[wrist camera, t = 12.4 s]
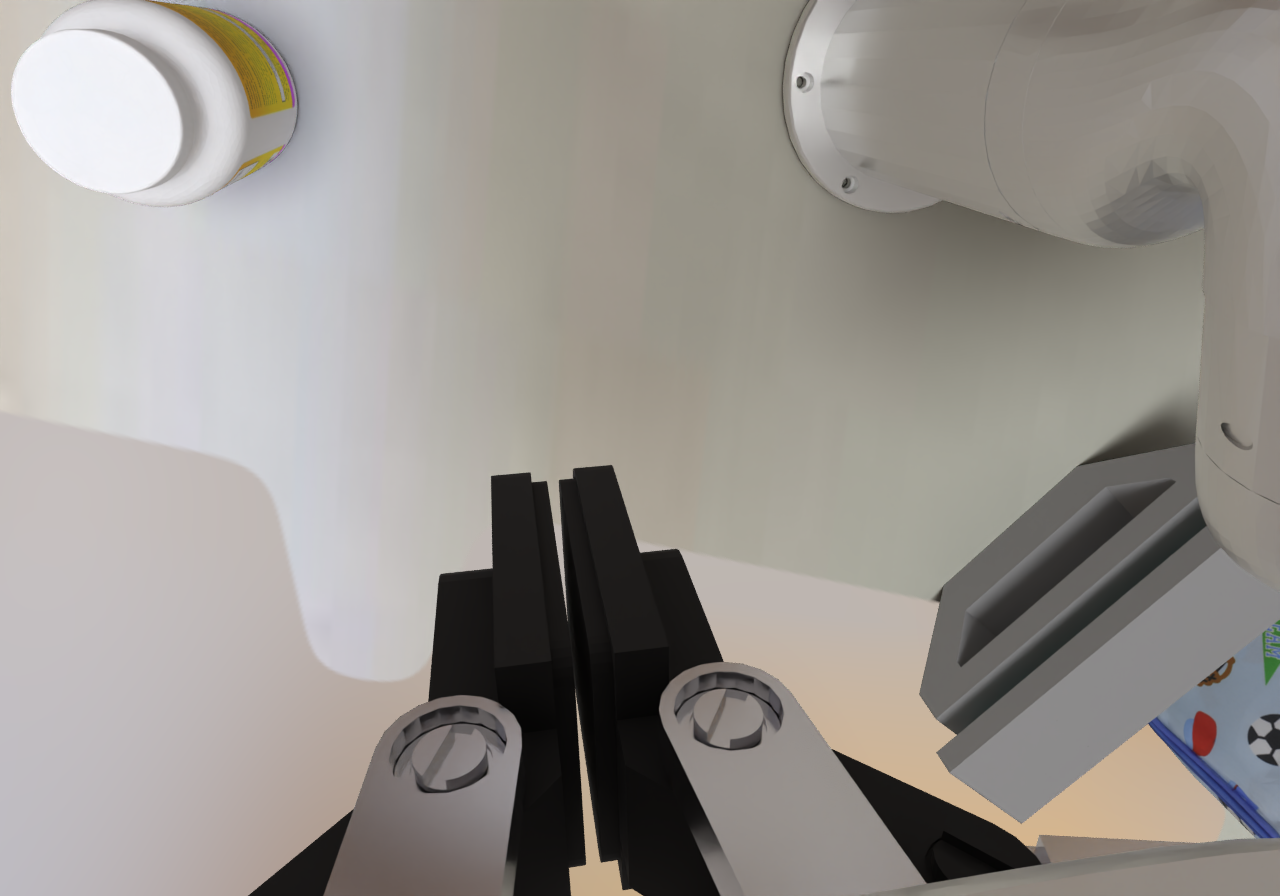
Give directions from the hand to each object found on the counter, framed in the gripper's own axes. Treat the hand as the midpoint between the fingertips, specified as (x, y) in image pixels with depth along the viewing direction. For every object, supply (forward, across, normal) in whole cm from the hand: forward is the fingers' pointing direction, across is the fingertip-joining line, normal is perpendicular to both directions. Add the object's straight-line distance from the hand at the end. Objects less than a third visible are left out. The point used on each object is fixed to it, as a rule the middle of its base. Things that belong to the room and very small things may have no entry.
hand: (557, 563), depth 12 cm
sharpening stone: (+32, -34, +25) cm, 53 cm away
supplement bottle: (+32, +12, -5) cm, 35 cm away
